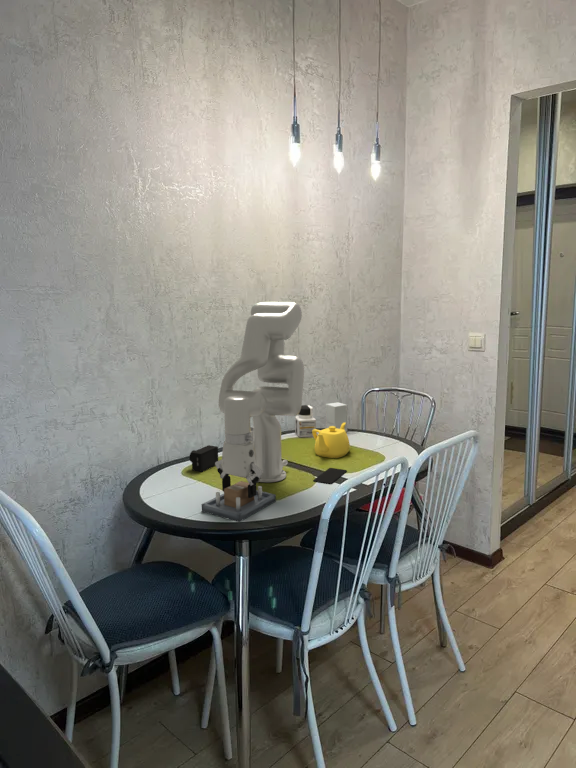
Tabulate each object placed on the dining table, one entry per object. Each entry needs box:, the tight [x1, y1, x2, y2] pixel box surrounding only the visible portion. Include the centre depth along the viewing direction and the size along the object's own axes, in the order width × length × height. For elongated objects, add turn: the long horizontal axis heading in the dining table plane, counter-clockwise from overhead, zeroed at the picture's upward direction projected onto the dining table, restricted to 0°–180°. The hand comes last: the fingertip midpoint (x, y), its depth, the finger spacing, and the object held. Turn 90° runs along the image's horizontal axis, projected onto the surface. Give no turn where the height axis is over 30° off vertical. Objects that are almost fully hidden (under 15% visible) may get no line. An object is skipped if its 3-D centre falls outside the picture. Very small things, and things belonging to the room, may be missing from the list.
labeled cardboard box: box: [223, 480, 254, 508], centre depth 167 cm, size 8×5×5 cm, turn 145°
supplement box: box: [325, 401, 348, 433], centre depth 252 cm, size 7×7×13 cm
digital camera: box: [189, 444, 219, 473], centre depth 204 cm, size 10×5×7 cm, turn 152°
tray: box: [201, 485, 277, 523], centre depth 168 cm, size 18×14×5 cm
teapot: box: [312, 422, 351, 459], centre depth 220 cm, size 22×16×11 cm
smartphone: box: [312, 467, 348, 485], centre depth 194 cm, size 7×1×15 cm
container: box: [294, 404, 317, 438], centre depth 247 cm, size 8×8×13 cm
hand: (239, 493), depth 167 cm, fingers open, 9 cm apart
